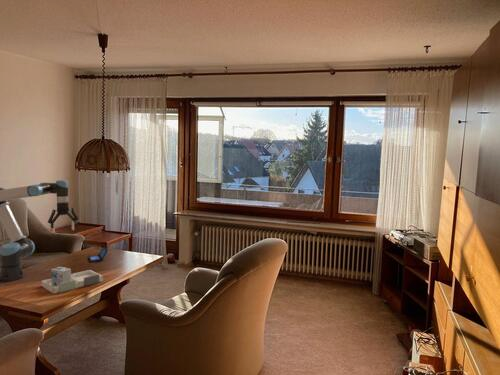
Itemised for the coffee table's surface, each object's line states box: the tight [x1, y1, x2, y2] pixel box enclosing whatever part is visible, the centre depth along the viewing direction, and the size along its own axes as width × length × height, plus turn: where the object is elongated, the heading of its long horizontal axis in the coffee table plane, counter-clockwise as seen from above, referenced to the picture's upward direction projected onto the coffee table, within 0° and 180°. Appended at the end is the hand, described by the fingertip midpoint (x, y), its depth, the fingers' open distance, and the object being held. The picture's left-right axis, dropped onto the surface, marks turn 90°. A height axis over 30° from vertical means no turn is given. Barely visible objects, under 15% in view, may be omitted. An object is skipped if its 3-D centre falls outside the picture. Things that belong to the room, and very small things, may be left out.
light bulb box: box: [50, 266, 72, 286], centre depth 256 cm, size 11×7×11 cm, turn 69°
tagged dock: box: [41, 269, 104, 294], centre depth 261 cm, size 33×20×6 cm, turn 138°
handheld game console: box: [87, 245, 108, 263], centre depth 318 cm, size 16×13×9 cm
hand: (63, 231), depth 279 cm, fingers open, 13 cm apart
